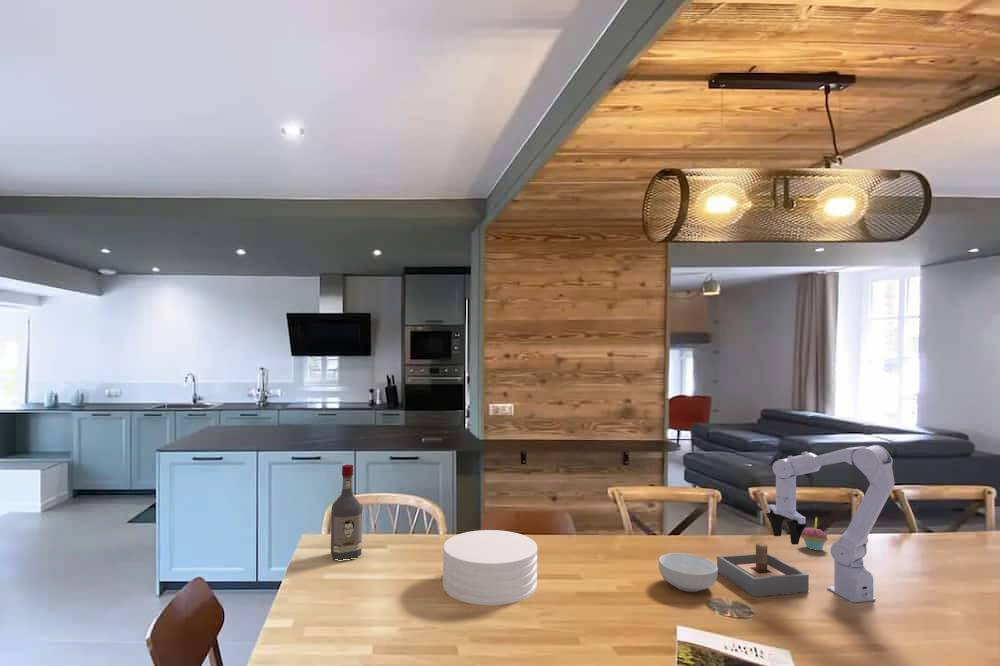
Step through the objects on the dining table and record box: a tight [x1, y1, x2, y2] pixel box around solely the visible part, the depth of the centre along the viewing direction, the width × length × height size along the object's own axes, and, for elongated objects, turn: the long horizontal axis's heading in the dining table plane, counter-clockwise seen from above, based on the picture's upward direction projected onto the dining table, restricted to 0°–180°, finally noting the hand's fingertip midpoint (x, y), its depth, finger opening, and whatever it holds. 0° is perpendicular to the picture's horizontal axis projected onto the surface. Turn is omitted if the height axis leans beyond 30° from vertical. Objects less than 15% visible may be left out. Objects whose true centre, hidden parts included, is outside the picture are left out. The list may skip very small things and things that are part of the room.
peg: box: [755, 542, 768, 574], centre depth 170 cm, size 3×3×10 cm
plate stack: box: [442, 529, 538, 606], centre depth 166 cm, size 28×28×12 cm
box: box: [716, 552, 810, 598], centre depth 170 cm, size 18×18×5 cm
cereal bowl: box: [658, 552, 719, 593], centre depth 166 cm, size 17×17×7 cm
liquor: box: [330, 464, 363, 560], centre depth 187 cm, size 9×9×30 cm
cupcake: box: [800, 516, 828, 551], centre depth 199 cm, size 9×8×12 cm
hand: (785, 539), depth 177 cm, fingers open, 7 cm apart
